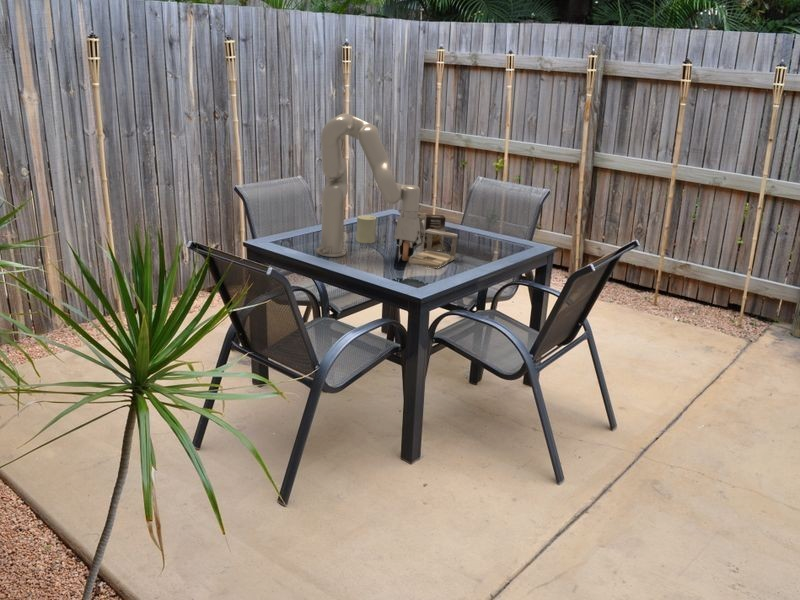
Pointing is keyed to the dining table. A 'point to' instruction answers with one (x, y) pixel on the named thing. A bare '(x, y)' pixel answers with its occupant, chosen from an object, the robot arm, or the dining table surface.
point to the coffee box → (437, 224)
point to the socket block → (434, 257)
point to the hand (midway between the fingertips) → (406, 254)
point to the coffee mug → (421, 222)
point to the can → (366, 229)
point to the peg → (405, 251)
